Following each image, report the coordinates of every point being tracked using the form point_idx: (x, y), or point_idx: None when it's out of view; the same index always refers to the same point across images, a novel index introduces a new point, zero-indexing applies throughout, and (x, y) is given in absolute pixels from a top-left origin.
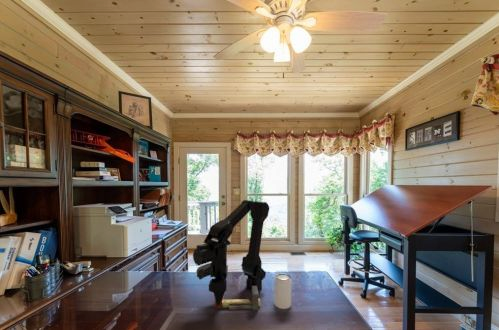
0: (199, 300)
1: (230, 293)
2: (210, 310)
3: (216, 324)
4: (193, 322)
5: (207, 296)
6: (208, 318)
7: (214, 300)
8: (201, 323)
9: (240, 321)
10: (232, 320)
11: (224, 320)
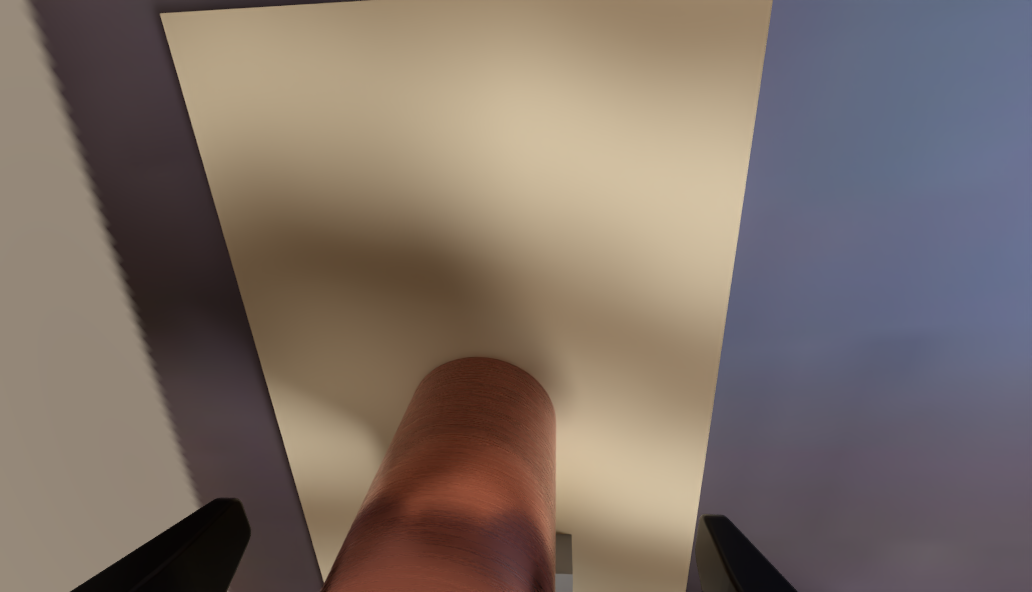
0: (837, 23)
1: (929, 525)
2: None
3: (173, 380)
4: (118, 58)
5: (962, 177)
6: None
7: (407, 444)
8: (135, 193)
9: (284, 583)
10: (285, 525)
11: (268, 456)
